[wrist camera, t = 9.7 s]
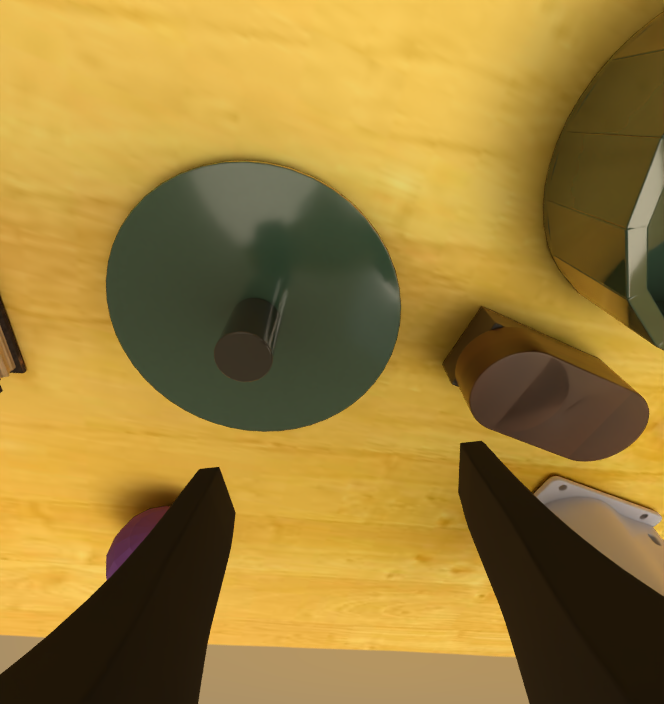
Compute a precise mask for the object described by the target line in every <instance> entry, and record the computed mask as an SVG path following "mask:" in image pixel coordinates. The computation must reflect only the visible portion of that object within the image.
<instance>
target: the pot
mask: <svg viewBox="0 0 664 704" xmlns="http://www.w3.org/2000/svg"><path fill="white" fill-rule="evenodd" d="M543 214H544V228H545V233H546V238H547V243H548V246H549V249H550V251H551V254H552V257H553V259H554V261H555V263H556V264H557V266H558V268H559V270H560V271H561V272H562V274H563V275H564V276H565V277H566V279H567V280H568V281H569V282H570V283H571V284H572V285H573V286H574V288H575V289H576V291H577V292H578V293H579V294H581V295H582V296H584V297H585V298H586V299H588V300H589V301H591V302H592V303H594V304H595V305H597V306H598V307H600V308H601V309H602V310H604V311H605V312H607V313H608V314H610V315H611V316H613V317H614V318H615V319H617V320H618V321H620V322H621V323H623V324H624V325H626V326H627V327H628V328H630V329H631V330H633V331H634V332H636V333H637V334H639V335H640V336H641V337H643V338H644V339H646V340H647V341H649V342H650V343H652V344H653V345H654V346H656V347H658V348H660V349H662V350H664V12H662V13H661V14H659V15H658V16H657V17H655V18H654V19H653V20H652V21H650V22H649V23H648V24H647V25H645V26H644V27H643V28H641V29H640V30H639V31H638V32H636V33H635V34H634V35H633V36H632V37H631V38H630V39H629V40H628V41H627V42H626V43H625V44H624V45H623V46H622V47H621V48H620V49H619V50H618V51H617V52H616V53H615V54H614V55H613V56H612V57H611V58H610V60H609V61H608V62H607V63H606V64H605V65H604V67H603V68H602V69H601V70H600V71H599V72H598V74H597V75H596V76H595V77H594V79H593V80H592V82H591V83H590V84H589V86H588V87H587V89H586V90H585V92H584V93H583V94H582V96H581V97H580V99H579V100H578V102H577V104H576V106H575V107H574V109H573V111H572V113H571V114H570V116H569V118H568V120H567V122H566V124H565V126H564V128H563V130H562V133H561V135H560V137H559V139H558V142H557V144H556V147H555V150H554V153H553V156H552V159H551V162H550V165H549V170H548V174H547V179H546V184H545V191H544V203H543Z"/></svg>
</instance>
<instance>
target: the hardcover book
mask: <svg viewBox="0 0 664 704" xmlns="http://www.w3.org/2000/svg"><path fill="white" fill-rule="evenodd" d="M25 371H26V368H25V366H24V363H23V360H22V357H21V355H20V352H19V349H18V346H17V344H16V341H15V338H14V335H13V332H12V330H11V327H10V324H9V321H8V319H7V316H6V313H5V310H4V308H3V305H2V302H1V299H0V378H2V377H7V376H9V373H24V372H25ZM0 380H1V379H0ZM1 392H2V388H1V386H0V393H1Z"/></svg>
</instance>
